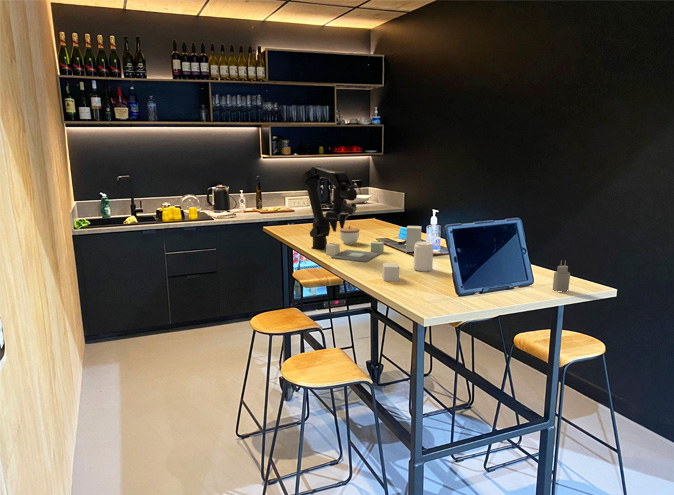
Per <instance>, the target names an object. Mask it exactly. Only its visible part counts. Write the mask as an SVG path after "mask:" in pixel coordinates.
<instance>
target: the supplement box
mask: <svg viewBox="0 0 674 495" xmlns="http://www.w3.org/2000/svg"><path fill="white" fill-rule="evenodd" d="M422 228H423V227H422V225H421V226H420V225H407V226H406V234H405V238H406V239H405V240H406V241H405V253H407V252H410V251H414V246H415V244H416V242H419V241H422Z"/></svg>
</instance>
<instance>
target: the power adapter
mask: <svg viewBox="0 0 674 495" xmlns="http://www.w3.org/2000/svg"><path fill="white" fill-rule="evenodd" d="M562 262H563V260H562V259H561V260H560V265H558V266H557V271H554V273H553V283H552V290H554V291H567V290H568V291H569V288H570V278H571V273H570V272H569V271H568V269H569V266H568V265H566V264H567V260H564V265H562ZM554 291H553V292H554Z"/></svg>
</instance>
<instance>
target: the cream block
mask: <svg viewBox="0 0 674 495" xmlns="http://www.w3.org/2000/svg"><path fill="white" fill-rule="evenodd" d="M340 246H341V244H340V243H335V242H329V243H327V245H326V248H325V255H327V256H333V255H336V254H338V253H341V252H340Z"/></svg>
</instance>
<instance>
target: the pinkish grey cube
mask: <svg viewBox="0 0 674 495" xmlns="http://www.w3.org/2000/svg"><path fill="white" fill-rule="evenodd" d="M381 269H382V272H381V274H382V275H381V277H382V280H383V282H399V281H400V266H399V264H398V263H397V262H394V263H393V262H390V263H389V262H386V263H384V262H383V263H382V268H381Z"/></svg>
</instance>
